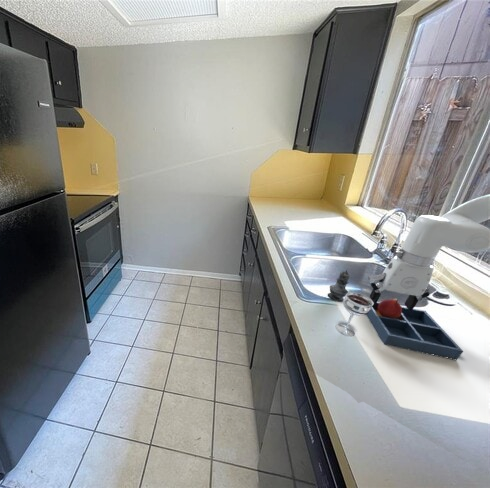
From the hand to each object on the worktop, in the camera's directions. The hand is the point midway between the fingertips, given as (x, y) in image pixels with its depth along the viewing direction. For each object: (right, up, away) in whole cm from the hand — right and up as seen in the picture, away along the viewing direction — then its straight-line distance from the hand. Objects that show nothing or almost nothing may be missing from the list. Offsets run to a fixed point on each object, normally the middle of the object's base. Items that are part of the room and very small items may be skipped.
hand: (390, 304), depth 83 cm
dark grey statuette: (-9, -1, +12) cm, 16 cm away
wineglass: (-16, -8, -3) cm, 18 cm away
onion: (0, -5, +2) cm, 6 cm away
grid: (+2, -8, -2) cm, 9 cm away
